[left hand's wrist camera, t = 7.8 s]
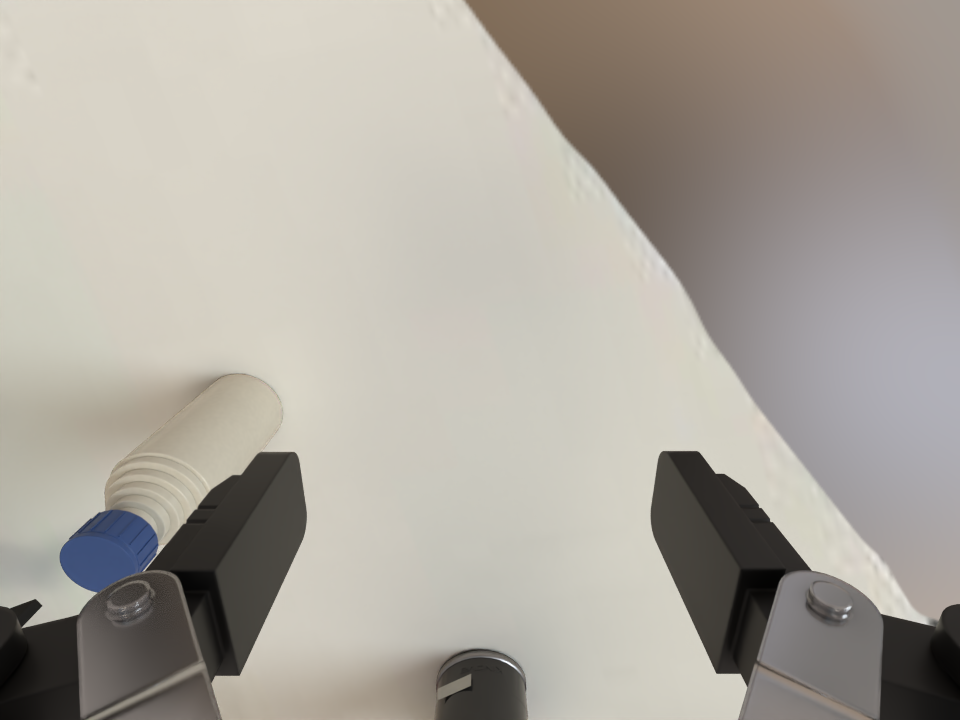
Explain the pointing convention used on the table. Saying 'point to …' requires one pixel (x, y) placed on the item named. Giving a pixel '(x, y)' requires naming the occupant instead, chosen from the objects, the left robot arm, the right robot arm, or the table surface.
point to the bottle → (195, 453)
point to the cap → (108, 549)
